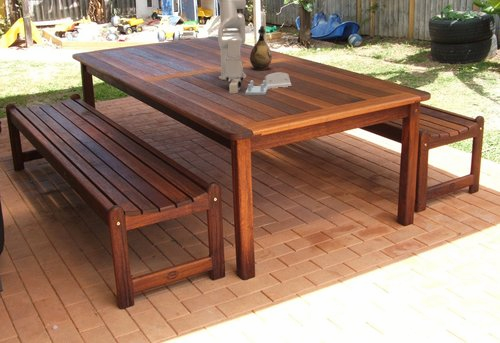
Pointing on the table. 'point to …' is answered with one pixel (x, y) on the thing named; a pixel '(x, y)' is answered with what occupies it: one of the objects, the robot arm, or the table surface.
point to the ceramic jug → (260, 53)
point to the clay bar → (234, 86)
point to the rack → (256, 89)
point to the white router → (277, 80)
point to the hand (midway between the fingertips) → (235, 87)
